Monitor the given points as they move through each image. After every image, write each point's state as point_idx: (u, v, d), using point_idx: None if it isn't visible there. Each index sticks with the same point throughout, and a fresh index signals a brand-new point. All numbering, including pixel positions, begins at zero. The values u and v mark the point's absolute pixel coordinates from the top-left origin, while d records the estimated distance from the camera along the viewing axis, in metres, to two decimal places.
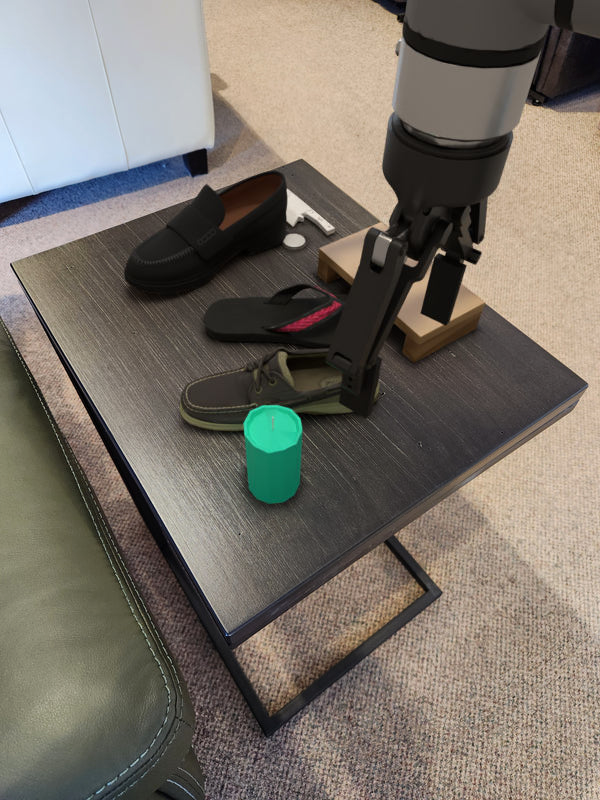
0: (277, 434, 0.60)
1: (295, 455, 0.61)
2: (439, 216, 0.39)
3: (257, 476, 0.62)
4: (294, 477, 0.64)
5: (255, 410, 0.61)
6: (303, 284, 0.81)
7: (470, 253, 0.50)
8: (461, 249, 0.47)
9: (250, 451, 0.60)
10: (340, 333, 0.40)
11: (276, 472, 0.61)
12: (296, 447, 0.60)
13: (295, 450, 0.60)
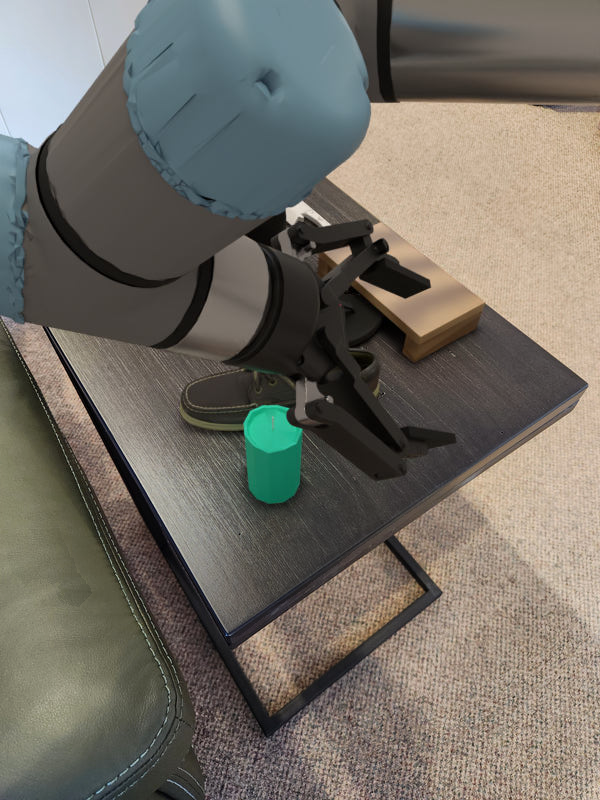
0: (277, 434, 0.60)
1: (295, 455, 0.61)
2: (314, 334, 0.38)
3: (257, 476, 0.62)
4: (294, 477, 0.64)
5: (255, 410, 0.61)
6: None
7: (375, 249, 0.46)
8: (364, 270, 0.44)
9: (250, 451, 0.60)
10: (360, 465, 0.41)
11: (276, 472, 0.61)
12: (296, 447, 0.60)
13: (295, 450, 0.60)
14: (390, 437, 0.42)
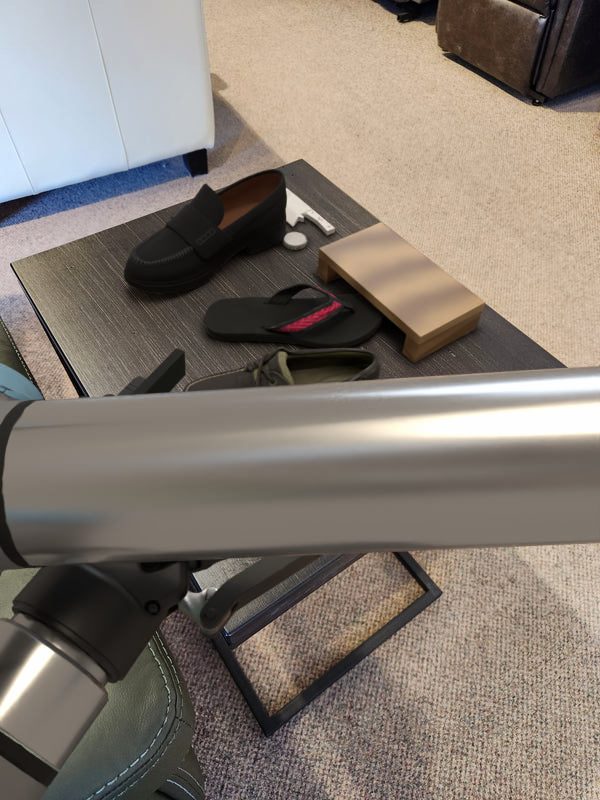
0: None
1: None
2: (140, 568, 0.35)
3: None
4: None
5: None
6: (303, 284, 0.81)
7: None
8: None
9: None
10: (300, 568, 0.38)
11: None
12: None
13: None
14: None
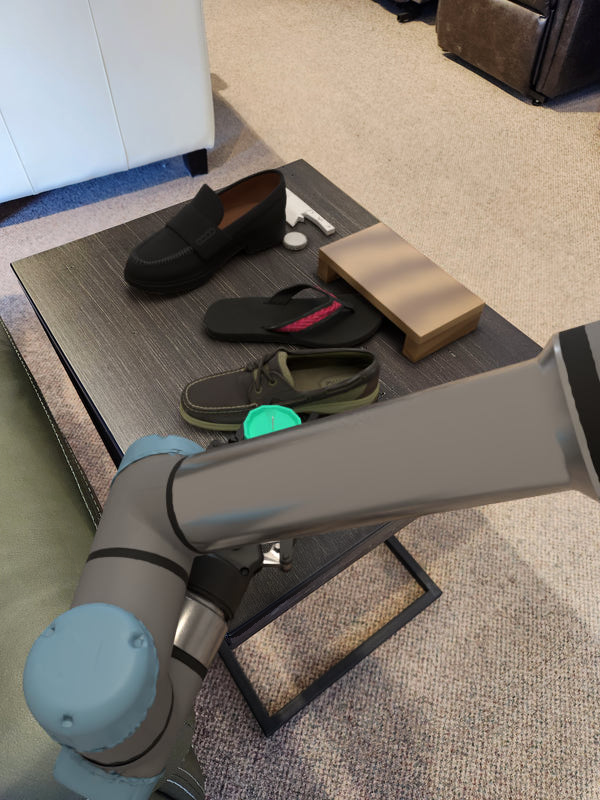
0: None
1: None
2: (232, 549, 0.54)
3: None
4: None
5: (255, 410, 0.61)
6: (303, 284, 0.81)
7: None
8: None
9: None
10: None
11: None
12: None
13: None
14: None
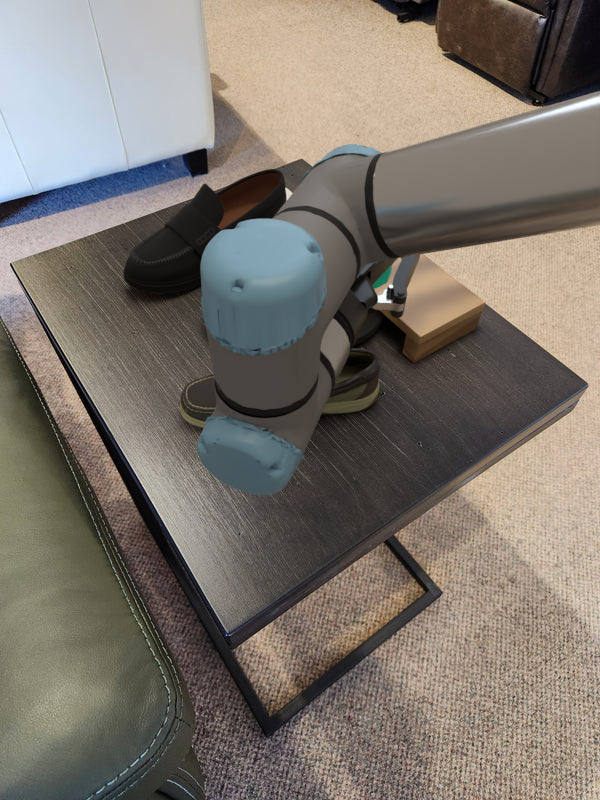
0: None
1: None
2: None
3: None
4: None
5: None
6: None
7: None
8: None
9: None
10: (414, 268, 0.59)
11: None
12: None
13: None
14: None
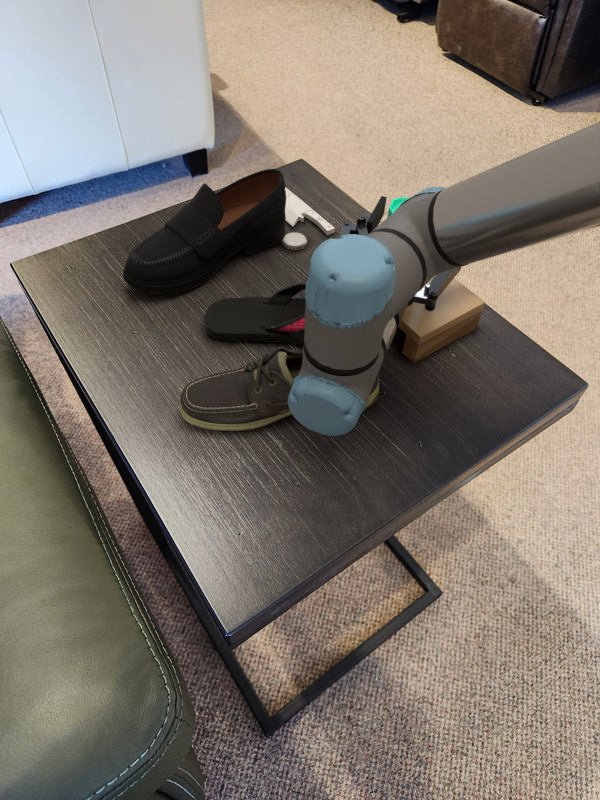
0: None
1: None
2: None
3: None
4: None
5: (396, 199, 0.77)
6: (303, 284, 0.81)
7: (361, 225, 0.77)
8: None
9: None
10: (454, 276, 0.74)
11: None
12: None
13: None
14: None
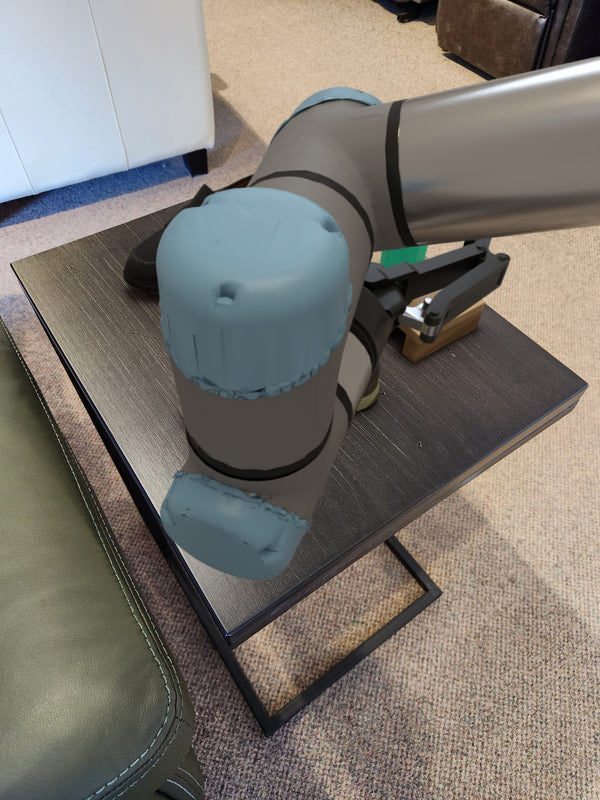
0: None
1: None
2: None
3: (395, 256, 0.78)
4: (422, 260, 0.80)
5: None
6: None
7: None
8: None
9: None
10: (485, 293, 0.45)
11: (413, 248, 0.77)
12: None
13: None
14: (472, 257, 0.45)
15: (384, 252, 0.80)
